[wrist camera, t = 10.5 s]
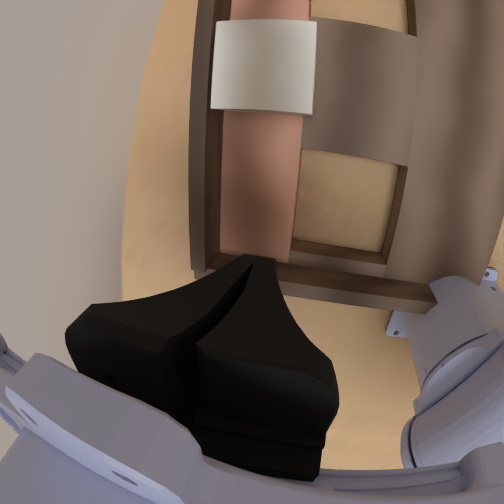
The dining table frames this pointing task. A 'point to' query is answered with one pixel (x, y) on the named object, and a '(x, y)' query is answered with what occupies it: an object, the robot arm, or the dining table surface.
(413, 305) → the frame
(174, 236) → the dining table surface
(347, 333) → the dining table surface
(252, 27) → the block
